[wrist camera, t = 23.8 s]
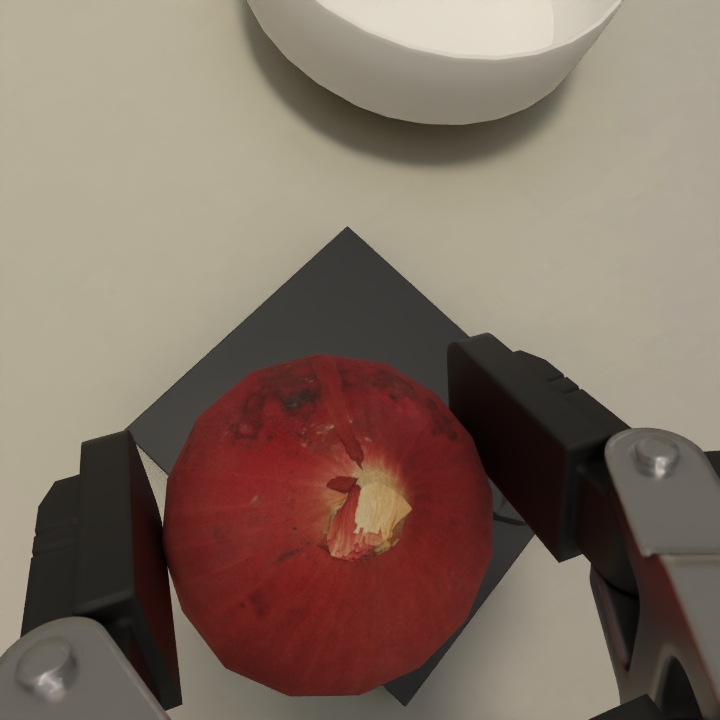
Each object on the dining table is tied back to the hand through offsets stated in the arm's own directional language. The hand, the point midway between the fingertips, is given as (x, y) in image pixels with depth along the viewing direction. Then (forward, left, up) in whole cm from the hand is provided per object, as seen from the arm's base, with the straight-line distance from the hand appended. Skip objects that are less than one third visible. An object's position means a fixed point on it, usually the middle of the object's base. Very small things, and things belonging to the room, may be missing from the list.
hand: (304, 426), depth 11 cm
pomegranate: (-1, +1, -4) cm, 5 cm away
